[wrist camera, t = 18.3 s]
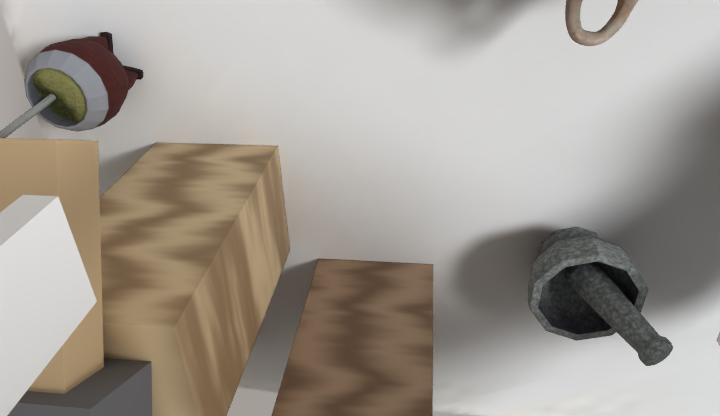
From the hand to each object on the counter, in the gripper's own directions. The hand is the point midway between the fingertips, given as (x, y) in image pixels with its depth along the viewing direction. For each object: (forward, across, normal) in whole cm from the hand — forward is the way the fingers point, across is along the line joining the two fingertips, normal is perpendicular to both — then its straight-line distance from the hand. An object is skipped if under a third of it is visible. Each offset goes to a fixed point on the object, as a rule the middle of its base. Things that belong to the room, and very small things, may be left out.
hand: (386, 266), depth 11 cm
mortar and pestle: (+37, +16, -26) cm, 48 cm away
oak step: (+37, -19, -21) cm, 46 cm away
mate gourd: (+37, -28, -8) cm, 47 cm away
